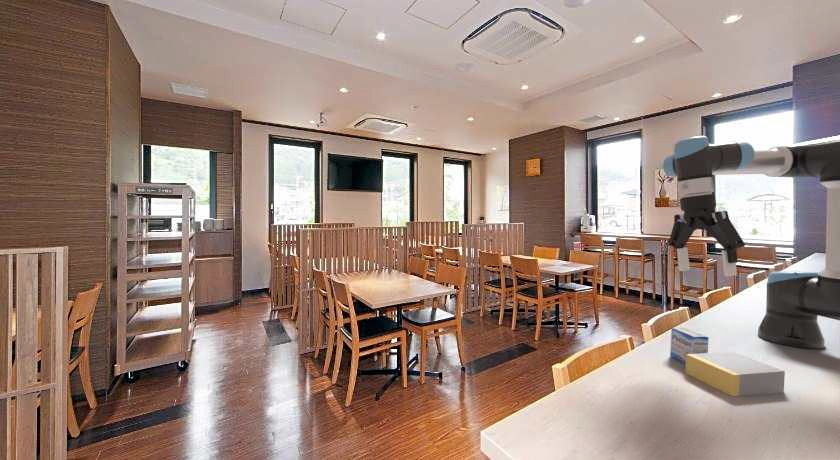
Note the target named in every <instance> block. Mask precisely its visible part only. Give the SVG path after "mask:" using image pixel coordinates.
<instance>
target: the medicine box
mask: <svg viewBox="0 0 840 460" xmlns="http://www.w3.org/2000/svg"><path fill="white" fill-rule="evenodd" d="M709 339H710V338H709V336H707V335H705V334H704V335H703V334H700V333H698V332H696V331H694V330H691V329H688V328H685V327H672V328H671V333H670V351H669V353H670V354H669V356H670V357H671V358H672V359H674V360H676V361H678V362H680V363H682V364H684V365H686V354H698V353H709Z"/></svg>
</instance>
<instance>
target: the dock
mask: <svg viewBox="0 0 840 460" xmlns="http://www.w3.org/2000/svg"><path fill="white" fill-rule="evenodd" d="M785 372H786V371H785V370H783V369H780V368H777V367H776V366H775V367H774V366H772V365H769V364H767V363H764V362H761V361H760V360H756V359H753V358H751V357H749V356H745V355H742V354H741V353H737V352H735V351H732V350H731V351H719V352H718V351H717V352H715V351H714V352H708V353H698V354H686V364H685V374H687V375H689V376H691V377H693V378H695V379H696V380H699V381H701V382H702V383H705V384H707V385H709V386H711V387H712V388H715V389H716V390H719V391H721V392H723V393H726V394H727V395H729V396H731V397H741V396H742V397H743V396H754V395H763V394H764V395H765V394H766V395H767V394H776V393H777V394H778V393H784V392H785V377H786V376H785V374H786V373H785Z"/></svg>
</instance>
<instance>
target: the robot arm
mask: <svg viewBox="0 0 840 460" xmlns="http://www.w3.org/2000/svg"><path fill="white" fill-rule="evenodd" d="M673 145H674V146H673V152H674V153H671V154H669V155H668V156H666V157H665V159H664V160H663V163H662V169H663V171H664V173H665V174H666V175H667V176H669V177H670V178H671V177H672V178H673V177H674V178H675V177H677V187H678V194H679V196H680V197H681V198H680V199H679V204H680V210H681V212H684V213H680V214H674V217H673V221H674V223H673V226H672V229H671V233H670V236H669V240H668V243H667V244H668V246H669V247H673V248H674V249H675V255H676V259H677V261H678V262H677V263H678V271H679V272H686V271H690V270H691V267H690V259H689V251H688V250H689V249H688V247H687V243H688V242H689V240H690V238H691V237H692V236H693V233H694V232H695V231H697V230H700V231H701V230H705V231H706V232H708V233H709V234H710V235H711V236H712V237H713V238H714V239H715V240H716V242H717V243H718V244H719V245H720V246H721V247H722V248H723V249H722V250H721V258H722V259H721V260H722V266H723V275H724V277H734V276H738V272H737V271H738V270H737V263H738V261H739V260H738V259H739V258H738V252H737V251H738V249H741V248H743V247H744V248H745V246H746V244H745V242H744V240H743V238H742V237H741V236H740V234H739V233H738V230H737V229H736V227H735V226H734V224H733V223H732V221H731V220H730V217H729V213H728V211H727V210H718V211H715V208H716V207H717V200H716V195H714V194H713V192H715V186H714V179H713V178H714V176H716V175H717V176H718V175H719V176H722V175H723V176H724V175H725V176H727V175H765V176H767V177H771V178H797V179H817V178H819V184H820V185H821V186H822V187H825V188H826V195H827V196H826V228H825V230H826V231H825V268H824V269H823V270H821V271H820V272H816V271H772V272H769V274H768V276H767V282H766V301H765V302H766V306H765V307H766V309H765V315H764V316H763V318H762V321H761V323H760V324H759V327H758V328H757V335H758V337H760V338H761V339H764V340H766V341H770V342H773V343H775V344H776V343H777V344H780V345H784V346H788V347H789V346H790V347H796V348H802V349H803V348H804V349H823V348H825V342H826V340H825V337H824V336H823V332H822V330H821V327H820V325H819V323H818V316H819V317H822V318H827V319H831V320H836V321H840V135H837V136H831V137H826V138H819V139H814V140H809V141H804V142H799V143H795V144H790V145H784V146H782V145H780V146H779V145H778V146H773V147H770V148H768V149H754V147H753V145H752V144H750V143H749V142H746V141H737V140H736V141H730V142H721V143H710V141H709V138H708V137H707V136H704V135H701V136H700V135H699V136H693V137H690V138H684V139H681V140H678V141H677V142H676V143H674V144H673Z"/></svg>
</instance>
